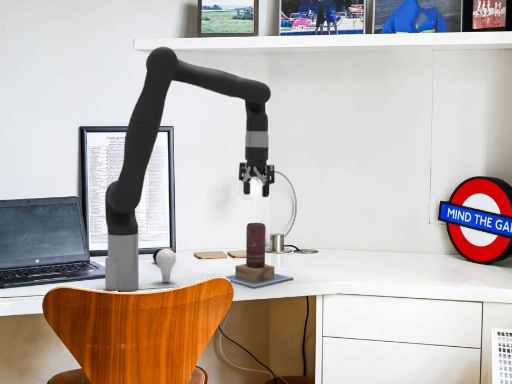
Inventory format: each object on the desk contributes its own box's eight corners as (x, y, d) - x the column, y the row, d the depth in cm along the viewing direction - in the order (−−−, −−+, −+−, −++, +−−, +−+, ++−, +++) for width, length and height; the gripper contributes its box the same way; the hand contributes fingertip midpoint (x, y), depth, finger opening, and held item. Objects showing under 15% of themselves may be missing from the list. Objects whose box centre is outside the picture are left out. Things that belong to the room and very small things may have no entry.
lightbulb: (161, 286, 210) (161, 251, 209) (152, 282, 215) (152, 248, 214) (179, 283, 213) (179, 249, 212) (170, 279, 219) (170, 246, 217)
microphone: (174, 282, 228) (163, 262, 246) (179, 267, 227) (168, 248, 245) (159, 278, 226) (149, 259, 244) (164, 263, 225) (154, 244, 243)
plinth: (254, 282, 213) (254, 270, 213) (235, 277, 219) (235, 265, 219) (274, 278, 219) (274, 266, 219) (255, 273, 226) (255, 262, 225)
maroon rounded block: (263, 268, 216) (264, 225, 214) (244, 267, 217) (244, 224, 215) (267, 264, 221) (267, 222, 220) (248, 263, 223) (248, 221, 221)
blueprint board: (254, 288, 208) (254, 286, 208) (220, 279, 220) (220, 277, 219) (293, 279, 221) (293, 277, 220) (259, 271, 232) (259, 269, 232)
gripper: (233, 144, 217) (232, 194, 219) (264, 146, 207) (263, 198, 209) (250, 144, 222) (249, 192, 224) (281, 146, 212) (280, 197, 214)
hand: (256, 195), depth 216 cm, fingers open, 8 cm apart
